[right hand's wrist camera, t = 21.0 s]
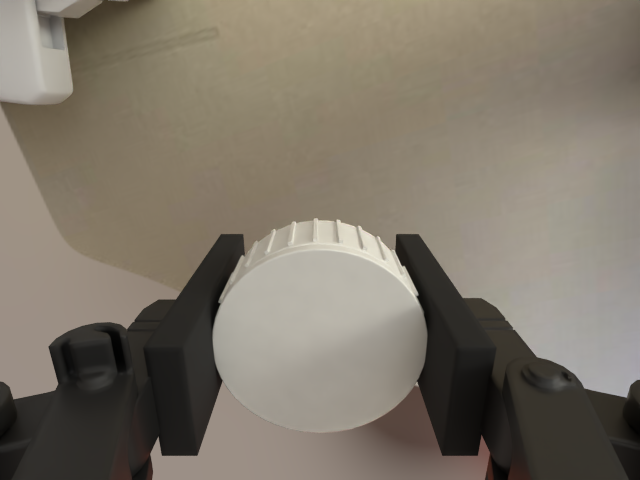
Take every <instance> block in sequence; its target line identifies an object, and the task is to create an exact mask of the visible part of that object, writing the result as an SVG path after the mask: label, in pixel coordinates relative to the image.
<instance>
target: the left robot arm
mask: <svg viewBox="0 0 640 480" xmlns="http://www.w3.org/2000/svg"><path fill="white" fill-rule="evenodd" d="M110 1H124V2H125V1H129V0H110ZM101 3H102V0H0V101H2V102H9V103H17V104H26V105H54V104H60V103H62V102H63V101H64V100H66V99H67V98H68V97H69V96H70V95H71V94H72V93H73V83H72V76H71V68H70V61H69V54H68V47H67V39H66V32H65V25H64V17H66V18H80V17H81V16H83V15H84V14H86V13H87V12H89V11H90V10H92V9H93V8H95V7H96V6H98V5H99V4H101Z"/></svg>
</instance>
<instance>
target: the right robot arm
mask: <svg viewBox="0 0 640 480" xmlns="http://www.w3.org/2000/svg"><path fill="white" fill-rule="evenodd" d="M395 253H396V255H397V257H398V259H399V261H400V264H401V266H402V267H403V266H405V268H406V270H407V272H408V274H409V276H410V278H411V280H412V282H413V284H414V286H415V288H416V290H417V292H418V296H417V298H418V300H419V302H420V304H421V307H422V309H423V311H424V317H425V321H426V326H427V331H428V335H427V347H426V356H425V363H424V367H423V369H422V372H421V374H420V376H419V378H418V380H417V382H418V385H419V388H420V390H421V393H422V396H423V399H424V402H425V405H426V408H427V411H428V414H429V417H430V420H431V423H432V426H433V429H434V432H435V435H436V438H437V441H438V444H439V447H440V450H441V453H442V455H443V456H477V455H478V451H479V446H480V440H481V434H482V436H483V438H484V441H485V443H486V445H487V447H488V449H489V451H490V456H489V462H488V467H487V472H486V478H485V480H640V380H637V381H635V382H634V383H633V384H632V385H631V386H630V389H629V393H628V396H627V398H625V397H620V396H616V395H611V394H606V393H601V392H596V391H592V390H588V389H584V387H583V385H582V383H581V382H580V381H579V380H578V378H577V377H576V376H575V374H573V373H572V372H570V371H569V370H567V369H566V368H565V367H563V366H561V365H559V364H556V363H554V362H552V361H550V360H546V359H541V358H537V357H536V356H535V354H534V353H533V352H532V351H531V349H530V348H529V347H528V346H527V345H526V343H525V342H524V341H523V340H522V338H521V337H520V336H519V335H518V334H517V332H516V331H515V330H513V327H512V326H511V325H510V324H509V322H508V321H505V318H504V316H503V315H502V314H501V313H500V311H499V310H498V309H497V308H496V307H495V306H493V305H491V304H490V303H488V302H486V301H485V300H483V299H482V298H462V296H461V295H460V294H459V292H458V291H457V289H456V288H455V286H454V285H453V283H452V282H451V281H450V279H449V278H448V276H447V275H446V273H445V272H444V270H443V269H442V268H441V266H440V265H439V263H438V262H437V260H436V259H435V257H434V256H433V254H432V253H431V252H430V250H429V249H428V247H427V246H426V244H425V243H424V241H423V240H422V239H421V237H420V236H419V234H396V249H395ZM242 255H243V256H244V257H245V252H244V238H243V234H221V235H220V237H219V238H218V240H217V241H216V242H215V244H214V245H213V247H212V248H211V250H210V251H209V253H208V254H207V256H206V257H205V258H204V260H203V261H202V263H201V264H200V266H199V267H198V269H197V270H196V271H195V273H194V274H193V276H192V277H191V279H190V280H189V282H188V283H187V284H186V286H185V287H184V289H183V290H182V292H181V293H180V295H179V296H178V298H177V299H176V300H157V301H156V302H154V303H153V304H151V305H149V306H148V307H146V308H144V309H143V310H142V312H141V313H140V314H139V315H138V317H137V318H136V319H135V322H133V323H132V324H131V325H130V326H129V328H128V329H126V328H124V327H123V326H122V325H120V324H115V323H110V322H107V323H94V324H90V325H85V326H81V327H78V328H76V329H73V330H71V331H68V332H66V333H65V334H63V335H61V336H60V337H58V338H56V339H55V340H54V341H53V342H52V344H51V345H50V346H49V350H50V354H51V358H52V361H53V365H54V369H55V373H56V376H57V380H58V386H57V388H56V390H55V391H52V392H48V393H43V394H38V395H33V396H29V397H24V398H19V399H14V400H13V397H12V394H11V391H10V387H9V386H7V385H6V384H5V383H4V382H0V480H152V475H153V469H152V462H151V456H150V453H151V451H152V449H153V446H154V444H155V442H156V440H157V438H158V436H159V442H160V447H161V453H162V456H197V455H198V452H199V449H200V446H201V443H202V440H203V437H204V434H205V431H206V428H207V425H208V422H209V419H210V417H211V413H212V411H213V408H214V405H215V402H216V399H217V396H218V393H219V389H220V387H221V384H222V381H223V380H222V379H221V377H220V374H219V372H218V370H217V367H216V364H215V359H214V350H213V340H212V330H213V325H214V321H215V317H216V314H217V312H218V309H219V306H220V304H221V303H218V301H219V299H220V297H221V295H222V293H223V291H224V288H225V286H226V284H227V282H228V280H229V278H230V276H231V274H232V272H234V270H235V268H236V266H237V264H238V261H239V259H240V257H241V256H242Z"/></svg>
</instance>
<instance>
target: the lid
mask: <svg viewBox="0 0 640 480" xmlns="http://www.w3.org/2000/svg"><path fill="white" fill-rule="evenodd" d="M417 296H418V292H417V290H416V288H415V286H414V284H413V282H412V280H411V278H410V276H409V274H408V272H407V270H406V268H405V266H403V267H402V266H401V264H400V261H399V259H398V257H397V255H396V253H395V251H394V250H391V251H390V250H389V249H388V248H387V247H386V246H385V245H384V244H383V243H382V241H381V239H380V237H378V236H376V237H374V236H373V235H371V234H369V233H367V232H366V231H364V230H362V227H361V226H357V227H354V226H352V225H348V224H344V223H341V222H340V220H336V222H334V221H321V220H318V218H314V221H305V222H299V223H296V221H294V222H292V223H291V225H288V226H286V227H283V228H280V229H278V230H275V229H273V230H271V233H270V234H269V235H267V236H266V237H264V238H263V239H262V240H260V241H259V242H258V241H257V240H256V241H255V242H254V243H253V246H252V248H251V249H250V250H249V252H248V253H247V254H246V255H245V257H244V256H243V255H242V256H241V257H240V259H239V261H238V264H237V266H236V268H235V270H234V272H232V274H231V276H230V278H229V280H228V282H227V284H226V286H225V288H224V291H223V293H222V295H221V297H220V299H219V301H218V303H221V304H220V306H219V309H218V312H217V314H216V317H215V321H214V325H213V330H212V340H213V350H214V359H215V364H216V367H217V370H218V372H219V374H220V377H221V379H222V380H223V382H224V384H225V385H226V387H227V388H228V390H229V391H230V392H231V393H232V395H233V396H234V397H235V398H236V399H237V400H238V401H239V402H240V403H241V404H242V405H243V406H244V407H246V408H247V409H248V410H249V411H251V412H252V413H254V414H255V415H257V416H259V417H260V418H262V419H264V420H266V421H268V422H270V423H273V424H275V425H278V426H281V427H284V428H287V429H291V430H296V431H301V432H310V433H329V432H339V431H344V430H349V429H353V428H356V427H359V426H362V425H365V424H367V423H370V422H372V421H374V420H376V419H378V418H379V417H381V416H383V415H385V414H386V413H387V412H389V411H390V410H392V409H393V408H394V407H396V406H397V405H398V404H399V403H400V402H401V401H402V400H403V399H404V398H405V397H406V396H407V394H408V393H409V392H410V391H411V390H412V388H413V387H414V385H415V383H416V382H417V380H418V378H419V376H420V374H421V372H422V369H423V367H424V363H425V356H426V347H427V335H428V331H427V326H426V321H425V317H424V311H423V309H422V307H421V304H420V302H419V300H418V298H417Z"/></svg>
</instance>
